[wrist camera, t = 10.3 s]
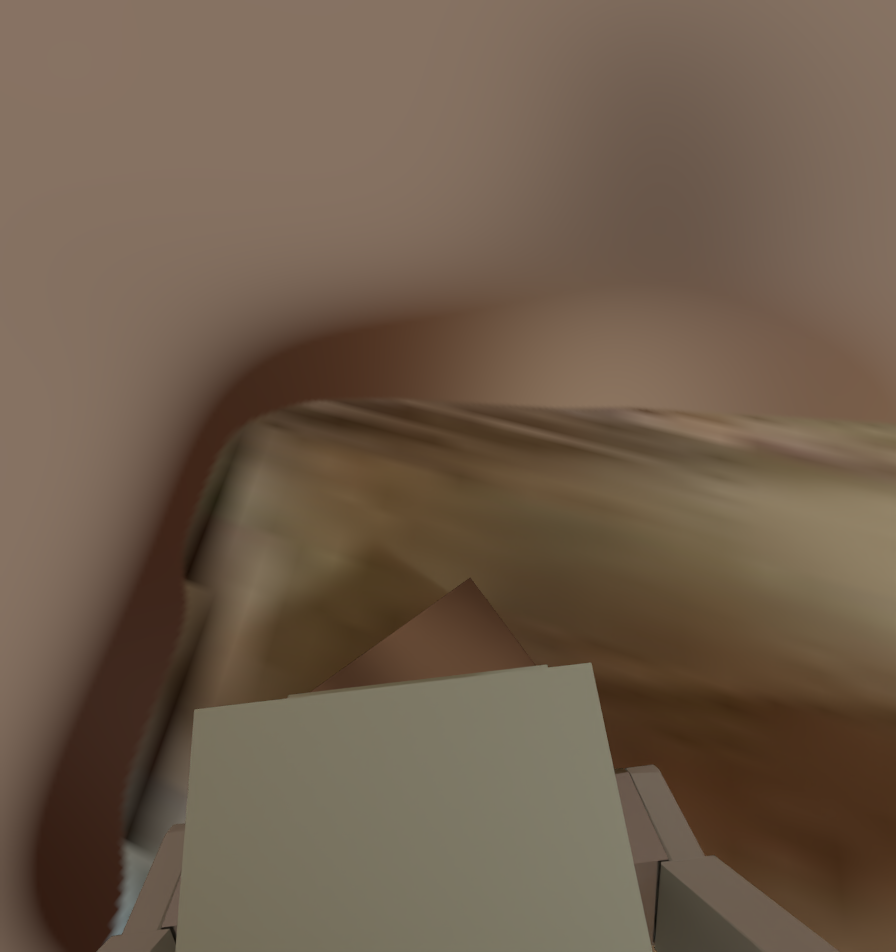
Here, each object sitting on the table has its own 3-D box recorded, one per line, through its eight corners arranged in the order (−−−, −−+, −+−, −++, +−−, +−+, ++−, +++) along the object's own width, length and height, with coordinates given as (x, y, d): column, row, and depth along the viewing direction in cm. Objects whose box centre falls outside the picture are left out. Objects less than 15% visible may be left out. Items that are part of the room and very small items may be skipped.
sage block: (298, 697, 14) (143, 657, 7) (541, 668, 15) (631, 602, 7) (296, 1022, 12) (44, 1493, 4) (595, 979, 12) (821, 1355, 5)
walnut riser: (466, 605, 30) (470, 577, 25) (616, 811, 26) (659, 831, 21) (273, 746, 28) (229, 749, 22) (406, 1003, 23) (393, 1084, 18)
